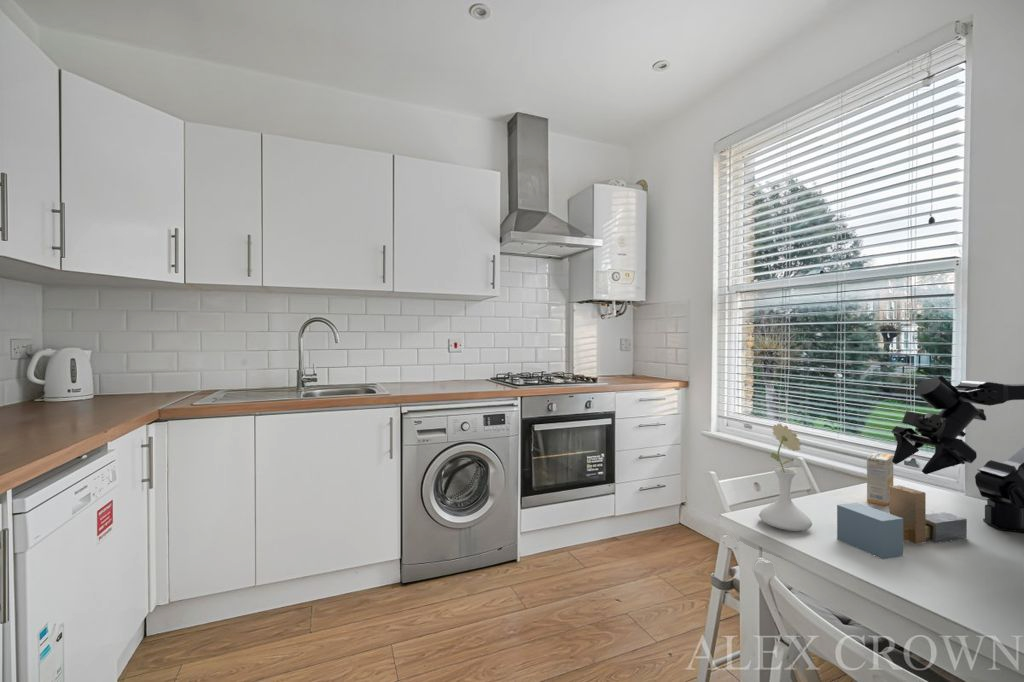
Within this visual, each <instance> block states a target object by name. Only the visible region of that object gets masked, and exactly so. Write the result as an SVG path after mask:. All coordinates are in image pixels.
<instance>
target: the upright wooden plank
mask: <svg viewBox="0 0 1024 682" xmlns="http://www.w3.org/2000/svg"><path fill="white" fill-rule="evenodd" d="M889 514H892V515H895V516H898V517H900V518H903V543H905V542H910V543H913V544H921V543H926V540H925V538H932V537H933V525H930V524H927V523H926V492H925V491H921V490H917V489H915V488H910V487H906V486H902V485H900V484H899V485H893V486H890V503H889Z"/></svg>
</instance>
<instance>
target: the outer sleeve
mask: <svg viewBox="0 0 1024 682" xmlns="http://www.w3.org/2000/svg"><path fill="white" fill-rule="evenodd" d="M967 521H968V519H967V518H966V517H961V516H958V515H955V514H952V513H949V512H946V511H943V512H936V513H935V512H933V513H929V514H928V513H927V514H926V523H927V524H930V525H933V537H932V538H925V541H929V542H931V543H934V544H939V542H940V543H946V541H947V542H952V541H953V540H954V541H960V540H959V539H961V540H966V539H965V538H967V534H968V530H967V529H968V525H967ZM951 540H952V541H951Z"/></svg>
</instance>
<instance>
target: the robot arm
mask: <svg viewBox="0 0 1024 682" xmlns="http://www.w3.org/2000/svg"><path fill="white" fill-rule="evenodd" d="M914 393H915V394H916V395H918V397H920V398H921V400H924V402H926V403H927V404H928V405H929V406H931V407H932V408H933V409H935V410H940V411H939V412H938V413H933V412H927V413H926V414H923V413H918V412H913V411H907V410H906V411H905V413H904V416H903V418H902V421H901V423H902V424H904V425H906V424H907V425H909V426H911V427H914V429H913V428H911V427H908V426H904V425H896V426H894V428H893V429H892V430H891V433H892V434H893V436H894V438H896V448H895V451H894V453H893V460H892V462H893V465H898V464H899V463H901V462H903V461H904V460H907V459H908V458H910V457H912V456H914V454H916V453H918V452H919V451H920V448H922V447H924V445H926V446H930V447H933V448H934V450H935V451H934V454H933V455H932V456H931V457H930V459H928V461H927V463H926V464H924V466H923V468H922V469H921V472H922V473H923V474H924V475H929V474H932V473H935V472H937V471H941V470H943V469H947V468H950V467H953V466H959V465H965V464H966V463H969V464H973V463H974V461H975V460H976V459H977V458H978V457H977V456H978V455H977V451H976V450H975V449H974V448H972V446H970V445H968V444H967V443H966V442H965V441H964V440H962V439H960V438H958V437H961V438H964V437H965V436H966V435H967V433H966V432H965V431H964V430H965V429H966V428H967V427H968V426H969V424H970V423H971V422H972V421H973V420H978V421H979V420H980V421H987V416H986V414H985V410H984V409H983V408H979V407H976V406H974V405H973V404H975V405H981V406H982V405H983V406H989V407H990V406H995V405H1001V404H1004V403H1006V402H1009V401H1015V400H1016V401H1024V383H1008V384H1007V383H1006V384H1005V383H999V382H998V383H997V382H990V381H980V380H979V381H978V380H962V381H960V382H959V384H957V385H953V384H951V383H950V382H949V381H948V380H947V378H945V377H944V376H943V375H936V374H935V375H933V376H932V378H931V377H930V378H928V379H924V380H923V381H922V382H919V383H918V384H917V385H916V386H915V388H914ZM919 433H920V434H919ZM977 471H978V472H977V473H976V474H975V476H974V479H975V485H976V487H977V489H978V490H979V495H980V496H981V497H983V498H985V499H986V498H987V499H986V503H987V504H985V505H984V518H982V520H983V522H984V523H987V524H988V523H989V524H988V525H990V526H991V527H994V528H995V529H997V530H1000V531H1008V532H1009V531H1010V532H1017V533H1024V446H1023V447H1022V448H1020V449H1019V450H1018V451H1017V452H1016V453H1014V454H1013V455H1012V456H1011V457H1010V458H1008V459H1007V460H1006V461H1002V462H1000V461H996V460H994V459H990V460H988V461H987V462H986V463H985V464H984V465H983V466H982V467H980V468H977Z"/></svg>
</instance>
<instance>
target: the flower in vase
mask: <svg viewBox="0 0 1024 682" xmlns="http://www.w3.org/2000/svg"><path fill="white" fill-rule="evenodd" d="M771 427H772V431H773V432H772V434H773V435H774V436H775V438H776V439H777V440H778V441H779V445H778V448H777V454H776V453H775V452H774V451H772V453H771V454H770V456H769V457H770V458H771V459H773V460H775V461H777V462H779V464H780V467H774V468H773V471H774V472H775V475H776V476H777V478H778V482H779V483H778V484H779V496H778V499H777V500H776V501H774V502H773V503H770V504H769V505H767V506H765V507H764V508H762V509H761V510H760V512H759V513H758V517H759V518H760V520H761V521H762V522H764V523H765V524H768V526H769V525H770V526H771V527H774V528H777V529H781V530H784V531H792V532H793V531H794V532H797V531H798V532H800V531H801V532H802V531H806V530H809V529H810V528H811V527H812V526H813V522H812V520H811V518H810V517H809V516H808V515H807V514H806V513H805V512H804V511H803V510H802V509H800V507H798V506H797V505H796V504H795V503H794V502H793V500H792V497H791V486H792V481H793V478H794V477H795V476H796V474H797V473H798V471H796V470H794V469H790V468H785V467H784V466H783V465H786V464H788V463H790V462H792V461H794V460H795V459H794V458H792V459H791V460H788V461H786V460H785V461H784V462H783V463H782V460H781V458H780V450H781V447H782V446H783V447H785V448H787V449H788V450H791V451H794V452H796V451H797V452H798V451H801V446H802V444H801V442H800V439H799V438H798V435H797V433H796V432H793V430H792V429H790V428H789V426H787V425H784V426H783V424H782V423H776V424H773V425H772V426H771Z"/></svg>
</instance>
